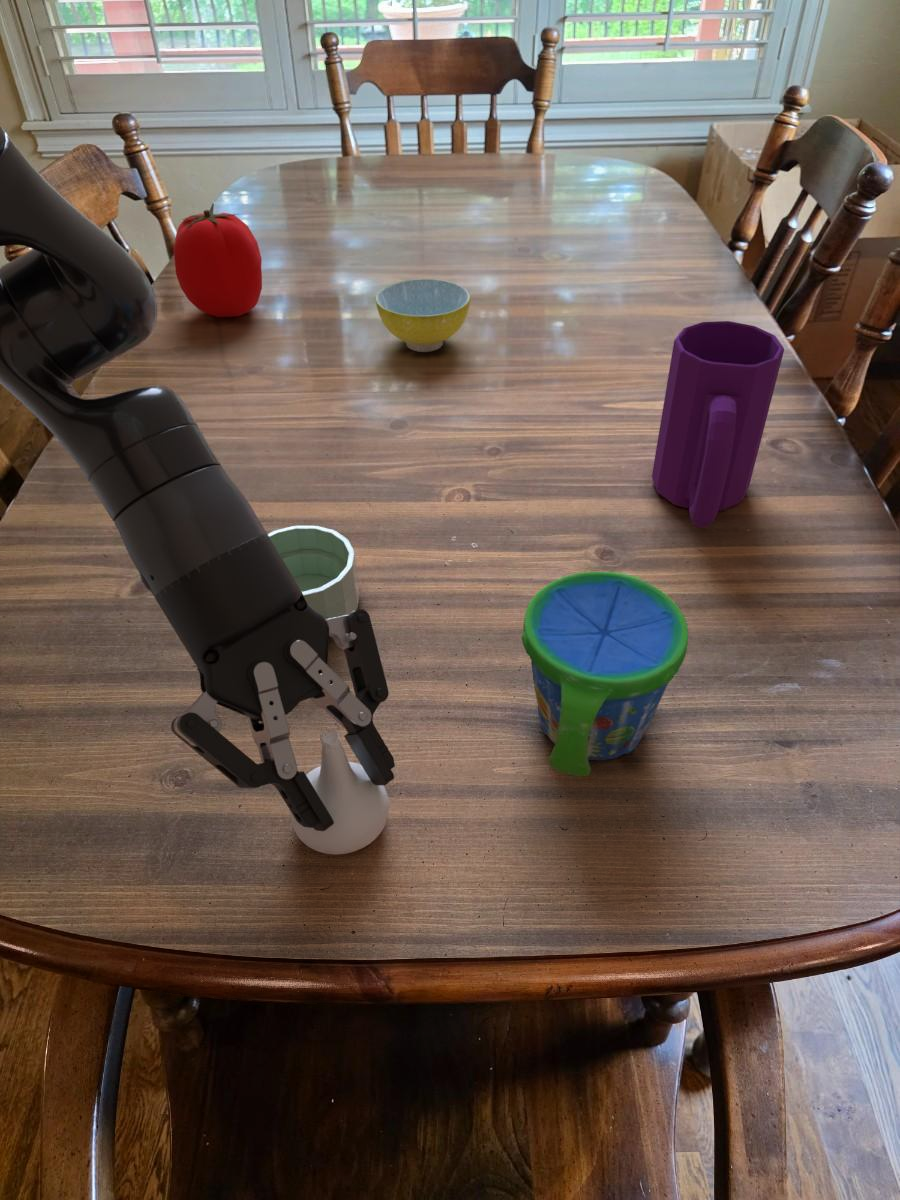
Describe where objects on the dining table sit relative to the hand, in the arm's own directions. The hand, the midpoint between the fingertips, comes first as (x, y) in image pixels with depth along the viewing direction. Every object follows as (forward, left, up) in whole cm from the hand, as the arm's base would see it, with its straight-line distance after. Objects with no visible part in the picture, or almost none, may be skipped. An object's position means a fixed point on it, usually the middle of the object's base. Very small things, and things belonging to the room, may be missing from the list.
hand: (355, 802), depth 53 cm
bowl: (+51, +50, -4) cm, 71 cm away
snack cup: (+18, -4, -4) cm, 19 cm away
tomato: (+39, +76, -4) cm, 85 cm away
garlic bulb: (0, +2, -4) cm, 5 cm away
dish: (+11, +21, -4) cm, 24 cm away
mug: (+46, +6, -4) cm, 47 cm away
